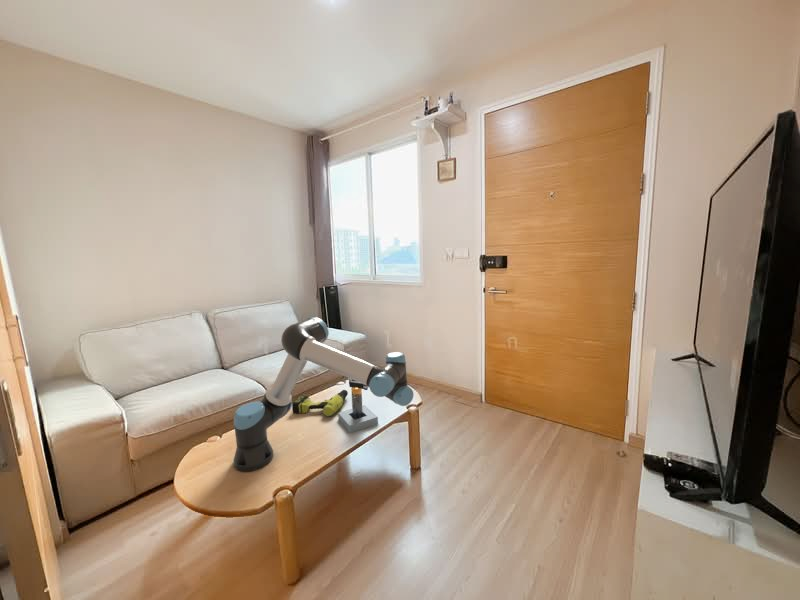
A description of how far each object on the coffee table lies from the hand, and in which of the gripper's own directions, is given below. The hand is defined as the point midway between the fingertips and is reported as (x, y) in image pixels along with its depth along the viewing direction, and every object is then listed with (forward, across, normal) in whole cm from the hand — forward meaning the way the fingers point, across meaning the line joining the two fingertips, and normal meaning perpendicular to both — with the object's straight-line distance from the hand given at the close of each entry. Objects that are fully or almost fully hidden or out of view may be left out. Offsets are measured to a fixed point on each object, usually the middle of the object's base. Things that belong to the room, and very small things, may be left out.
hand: (361, 372), depth 152 cm
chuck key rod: (+12, 0, -29) cm, 31 cm away
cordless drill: (+39, -9, -28) cm, 49 cm away
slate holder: (+12, 0, -29) cm, 32 cm away
